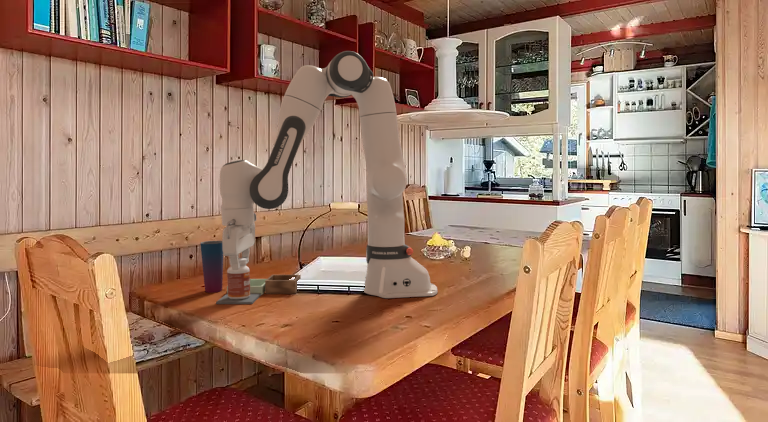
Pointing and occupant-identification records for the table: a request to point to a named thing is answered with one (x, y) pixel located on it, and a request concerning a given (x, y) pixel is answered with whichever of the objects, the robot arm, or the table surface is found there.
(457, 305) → the table surface
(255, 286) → the rim tray
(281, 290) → the crate
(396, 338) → the table surface
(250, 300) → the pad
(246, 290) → the pill bottle
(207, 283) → the cup
